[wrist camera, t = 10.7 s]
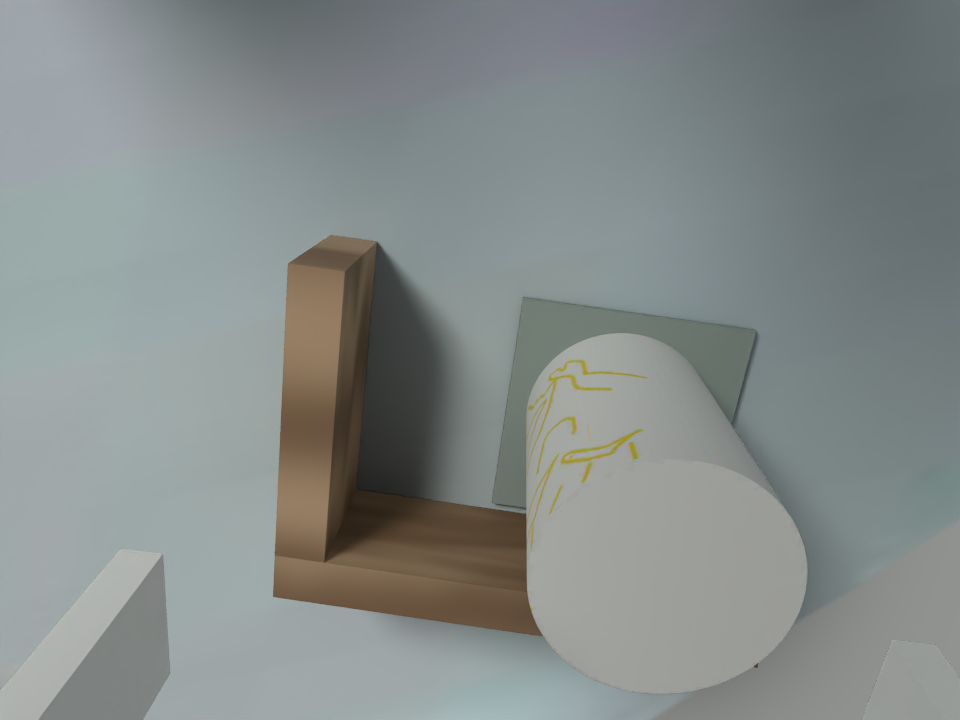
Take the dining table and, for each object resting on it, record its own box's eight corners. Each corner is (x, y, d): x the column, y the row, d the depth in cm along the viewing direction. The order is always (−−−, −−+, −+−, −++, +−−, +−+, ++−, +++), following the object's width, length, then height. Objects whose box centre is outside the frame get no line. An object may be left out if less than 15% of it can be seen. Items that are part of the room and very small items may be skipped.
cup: (581, 301, 31) (613, 411, 20) (745, 384, 32) (865, 536, 21) (494, 453, 34) (480, 628, 23) (649, 527, 35) (709, 731, 23)
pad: (523, 297, 32) (523, 298, 32) (754, 329, 32) (756, 331, 31) (492, 499, 35) (491, 502, 35) (701, 529, 35) (702, 533, 35)
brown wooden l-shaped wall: (330, 235, 31) (288, 263, 26) (798, 301, 31) (859, 344, 26) (312, 519, 36) (273, 596, 30) (720, 578, 36) (756, 667, 30)
